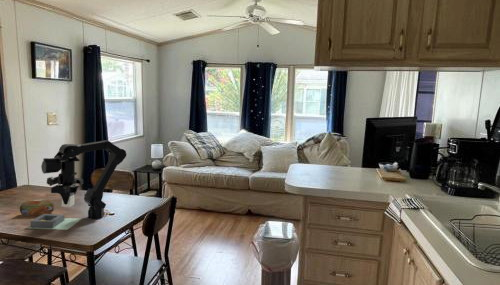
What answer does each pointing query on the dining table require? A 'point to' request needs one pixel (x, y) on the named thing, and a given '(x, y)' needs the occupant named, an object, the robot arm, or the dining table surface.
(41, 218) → the grey flat square frame
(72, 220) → the circuit board
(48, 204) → the tin
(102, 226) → the dining table surface
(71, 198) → the plug
